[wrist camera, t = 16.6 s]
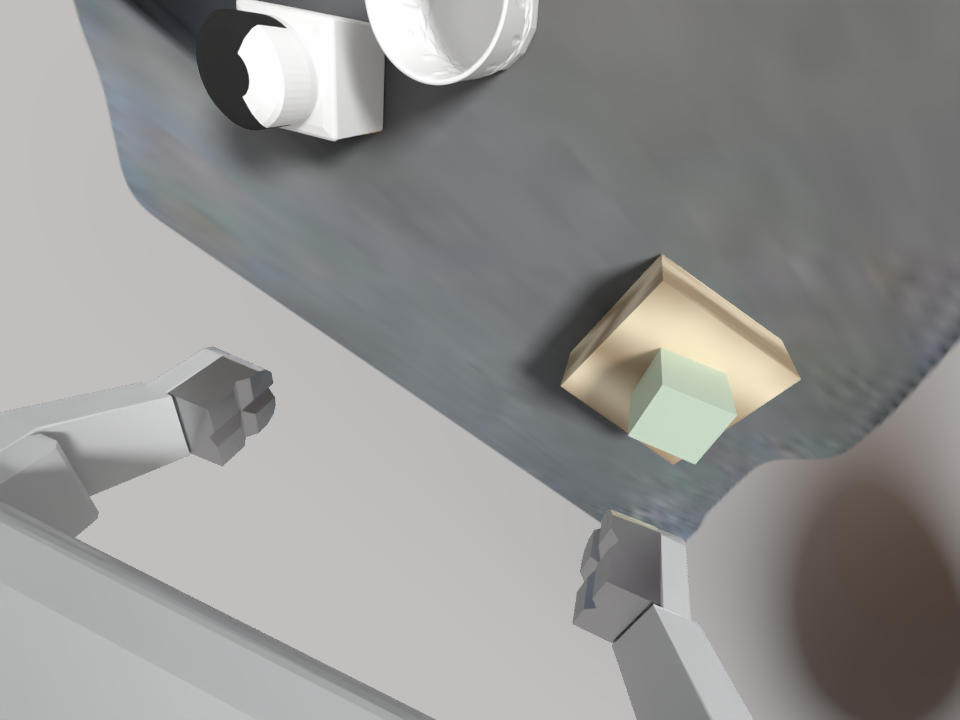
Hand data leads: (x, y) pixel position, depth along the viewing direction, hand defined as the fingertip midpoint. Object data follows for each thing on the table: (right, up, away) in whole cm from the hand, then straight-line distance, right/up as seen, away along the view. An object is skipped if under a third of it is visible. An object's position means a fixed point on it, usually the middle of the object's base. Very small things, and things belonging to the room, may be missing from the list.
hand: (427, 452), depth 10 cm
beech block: (+18, +3, +29) cm, 34 cm away
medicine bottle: (-9, +25, +25) cm, 37 cm away
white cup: (+2, +26, +20) cm, 33 cm away
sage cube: (+16, 0, +24) cm, 29 cm away
